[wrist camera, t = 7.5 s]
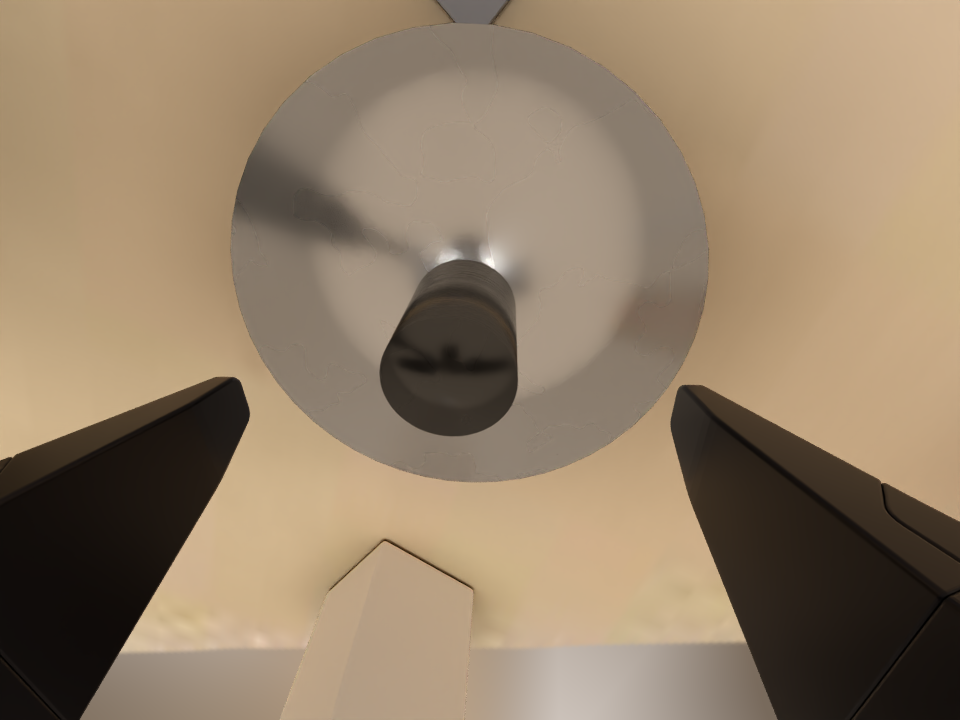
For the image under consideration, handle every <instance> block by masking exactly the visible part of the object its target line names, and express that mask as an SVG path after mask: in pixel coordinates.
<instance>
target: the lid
mask: <svg viewBox="0 0 960 720" xmlns="http://www.w3.org/2000/svg"><path fill="white" fill-rule="evenodd" d="M708 253H709V248H708V240H707V232H706V224H705V216H704V213H703V209H702V206H701V202H700V198H699V195H698V191H697V188H696V184H695V182H694V179H693V177H692V175H691V173H690V171H689V168H688V166H687V164H686V162H685V160H684V157H683V155H682V153H681V151H680V149H679V148H678V146H677V145H676V143H675V142H674V140H673V139H672V137H671V135H670V134H669V132H668V131H667V129H666V128H665V126H664V125H663V123H662V122H661V120H660V119H659V118H658V117H657V116H656V115H655V113H654V112H653V111H652V110H651V109H650V108H649V107H648V106H647V105H646V103H645V102H644V101H643V100H642V99H641V98H640V97H639V96H638V95H637V93H636V92H635V91H633V90H632V89H631V88H630V87H628V86H627V85H626V84H625V83H623V82H622V81H621V80H620V79H619V78H617V77H616V76H615V75H614V74H612V73H611V72H610V71H609V70H607V69H606V68H605V67H603V66H602V65H600V64H598V63H596V62H595V61H593V60H591V59H590V58H588V57H586V56H584V55H583V54H581V53H579V52H577V51H576V50H574V49H572V48H571V47H568V46H565V45H563V44H560V43H558V42H555V41H552V40H550V39H547V38H545V37H542V36H539V35H537V34H534V33H530V32H526V31H521V30H516V29H511V28H507V27H502V26H497V25H489V24H468V23H447V24H439V25H430V26H422V27H413V28H410V29H406V30H403V31H399V32H396V33H392V34H389V35H385V36H382V37H378V38H375V39H373V40H371V41H369V42H367V43H365V44H363V45H360V46H358V47H356V48H354V49H352V50H350V51H348V52H346V53H344V54H342V55H340V56H339V57H337V58H336V59H334V60H333V61H331V62H330V63H328V64H327V65H326V66H324V67H323V68H321V69H320V70H318V71H317V72H315V73H314V74H313V75H311V76H310V77H309V78H308V79H307V80H306V81H305V82H304V83H303V84H302V85H301V86H300V87H299V88H298V89H297V90H296V91H294V92H293V93H292V94H291V95H290V96H289V97H288V98H287V99H286V100H285V101H284V103H283V104H282V105H281V107H280V108H279V109H278V111H277V112H276V113H275V115H274V116H273V117H272V119H271V120H270V121H269V123H268V124H267V125H266V127H265V128H264V130H263V132H262V133H261V135H260V137H259V139H258V141H257V143H256V145H255V147H254V149H253V151H252V153H251V154H250V156H249V158H248V161H247V164H246V167H245V170H244V173H243V175H242V178H241V181H240V184H239V187H238V191H237V196H236V201H235V207H234V212H233V218H232V232H231V259H232V270H233V280H234V285H235V289H236V294H237V298H238V302H239V307H240V310H241V313H242V316H243V318H244V321H245V324H246V327H247V329H248V332H249V335H250V337H251V339H252V341H253V343H254V345H255V347H256V349H257V351H258V353H259V355H260V357H261V358H262V360H263V362H264V363H265V365H266V366H267V368H268V369H269V371H270V372H271V374H272V375H273V377H274V378H275V380H276V381H277V383H278V384H279V385H280V386H281V388H282V389H283V390H284V391H285V392H286V394H287V395H288V396H289V397H290V398H291V400H292V401H293V402H294V403H295V404H296V405H297V406H298V407H299V408H300V409H301V410H302V411H303V412H304V413H305V414H306V415H307V416H308V417H309V418H310V419H312V420H313V421H314V422H315V423H316V424H318V425H319V426H320V427H321V428H323V429H324V430H325V431H327V432H328V433H329V434H330V435H332V436H333V437H335V438H336V439H338V440H339V441H341V442H342V443H344V444H346V445H347V446H349V447H350V448H352V449H354V450H355V451H357V452H359V453H361V454H363V455H365V456H367V457H369V458H371V459H373V460H375V461H378V462H380V463H383V464H386V465H388V466H391V467H393V468H396V469H399V470H402V471H406V472H409V473H413V474H417V475H420V476H424V477H430V478H436V479H442V480H447V481H461V482H498V481H506V480H514V479H521V478H525V477H530V476H534V475H539V474H543V473H546V472H549V471H552V470H555V469H558V468H561V467H564V466H567V465H569V464H571V463H574V462H576V461H578V460H580V459H582V458H585V457H587V456H589V455H591V454H592V453H594V452H596V451H598V450H599V449H601V448H603V447H604V446H606V445H608V444H609V443H611V442H612V441H614V440H615V439H616V438H618V437H619V436H620V435H622V434H623V433H624V432H625V431H627V430H628V429H629V428H631V427H632V426H633V425H634V424H635V423H636V422H637V421H638V420H639V419H640V418H641V417H642V416H643V415H645V414H646V413H647V412H648V411H649V410H650V409H651V408H652V406H653V405H654V404H655V403H656V402H657V400H658V399H659V398H660V397H661V395H662V394H663V393H664V392H665V391H666V389H667V388H668V387H669V385H670V383H671V382H672V380H673V379H674V377H675V375H676V374H677V372H678V371H679V369H680V368H681V366H682V364H683V362H684V360H685V358H686V356H687V354H688V351H689V349H690V347H691V345H692V343H693V340H694V338H695V335H696V332H697V329H698V325H699V322H700V319H701V316H702V312H703V308H704V302H705V296H706V289H707V283H708Z"/></svg>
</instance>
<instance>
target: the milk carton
mask: <svg viewBox="0 0 960 720" xmlns="http://www.w3.org/2000/svg"><path fill="white" fill-rule="evenodd" d="M473 597H474V592H473V590H472V589H471V588H469V587H467V586H466V585H464V584H462V583H460V582H458V581H457V580H455V579H453V578H451V577H449V576H448V575H446V574H444V573H442V572H441V571H439V570H437V569H435V568H433V567H432V566H430V565H428V564H426V563H424V562H423V561H421V560H419V559H417V558H415V557H414V556H412V555H410V554H408V553H406V552H405V551H403V550H401V549H399V548H397V547H396V546H394V545H392V544H390V543H388V542H386V541H384V542H382V543H381V544H380V545H379V546H378V547H377V548H376V549H374V550H373V551H372V552H371V553H370V554H369V555H368V556H367V557H366V558H365V559H364V560H363V561H361V562H360V563H359V564H358V565H357V566H356V567H355V568H354V569H353V570H352V571H351V572H350V573H348V574H347V575H346V576H345V577H344V578H343V579H342V580H341V581H340V582H339V583H338V584H337V585H336V586H334V587H333V588H332V589H331V590H330V591H329V592H328V593H327V595H326V597H325V600H324V603H323V605H322V608H321V611H320V613H319V616H318V618H317V621H316V624H315V626H314V629H313V632H312V634H311V637H310V640H309V642H308V645H307V648H306V650H305V653H304V656H303V659H302V661H301V664H300V667H299V669H298V672H297V674H296V677H295V680H294V682H293V685H292V688H291V690H290V693H289V696H288V698H287V701H286V703H285V706H284V709H283V711H282V714H281V717H280V719H279V720H464V718H465V704H466V691H467V677H468V664H469V651H470V637H471V624H472V610H473Z"/></svg>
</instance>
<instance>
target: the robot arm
mask: <svg viewBox="0 0 960 720" xmlns="http://www.w3.org/2000/svg"><path fill="white" fill-rule="evenodd" d="M249 417H250V410H249V407H248V403H247V400H246V397H245V394H244V391H243V388H242V385H241V382H240V381H239V380H238V379H237V378H235V377H215V378H212V379H209V380H207V381H204V382H202V383H199V384H196V385H194V386H191V387H189V388H186V389H184V390H181V391H178V392H176V393H173V394H171V395H168V396H166V397H163V398H160V399H158V400H155V401H153V402H150V403H148V404H145V405H142V406H140V407H137V408H135V409H132V410H129V411H127V412H124V413H122V414H119V415H117V416H114V417H111V418H109V419H106V420H104V421H101V422H99V423H96V424H93V425H91V426H88V427H86V428H83V429H81V430H78V431H75V432H73V433H70V434H68V435H65V436H62V437H60V438H57V439H55V440H52V441H50V442H47V443H44V444H42V445H39V446H37V447H34V448H32V449H29V450H26V451H24V452H21V453H19V454H16V455H15V456H14V457H13V458H12V457H8V458H6V459H3V460H0V720H80V718H81V716H82V715H83V713H84V711H85V710H86V708H87V706H88V705H89V703H90V701H91V700H92V698H93V696H94V695H95V693H96V691H97V690H98V688H99V686H100V684H101V683H102V681H103V679H104V678H105V676H106V674H107V673H108V671H109V669H110V668H111V666H112V664H113V663H114V661H115V659H116V657H117V656H118V654H119V652H120V651H121V649H122V647H123V646H124V644H125V642H126V641H127V639H128V637H129V636H130V634H131V632H132V631H133V629H134V627H135V626H136V624H137V622H138V620H139V619H140V617H141V615H142V614H143V612H144V610H145V609H146V607H147V605H148V604H149V602H150V600H151V599H152V597H153V595H154V594H155V592H156V590H157V588H158V587H159V585H160V583H161V582H162V580H163V578H164V577H165V575H166V573H167V572H168V570H169V568H170V567H171V565H172V563H173V562H174V560H175V558H176V556H177V555H178V553H179V551H180V550H181V548H182V546H183V545H184V543H185V541H186V540H187V538H188V536H189V535H190V533H191V531H192V530H193V528H194V526H195V524H196V523H197V521H198V519H199V518H200V516H201V514H202V513H203V511H204V509H205V508H206V506H207V504H208V503H209V501H210V499H211V498H212V496H213V494H214V493H215V491H216V489H217V487H218V485H219V484H220V482H221V480H222V478H223V476H224V474H225V472H226V470H227V467H228V465H229V463H230V461H231V459H232V456H233V454H234V452H235V450H236V448H237V446H238V443H239V441H240V439H241V437H242V435H243V432H244V430H245V428H246V426H247V424H248V421H249ZM671 432H672V436H673V440H674V444H675V447H676V451H677V455H678V459H679V463H680V466H681V470H682V474H683V478H684V482H685V485H686V489H687V492H688V496H689V498H690V501H691V504H692V507H693V509H694V512H695V514H696V517H697V519H698V522H699V524H700V527H701V529H702V532H703V534H704V537H705V539H706V542H707V544H708V547H709V549H710V552H711V554H712V557H713V559H714V562H715V564H716V567H717V569H718V572H719V574H720V577H721V579H722V582H723V584H724V587H725V589H726V592H727V594H728V597H729V599H730V602H731V604H732V607H733V609H734V612H735V614H736V617H737V619H738V622H739V624H740V627H741V629H742V632H743V634H744V637H745V639H746V642H747V644H748V647H749V649H750V652H751V654H752V656H753V659H754V662H755V664H756V667H757V669H758V672H759V674H760V677H761V679H762V682H763V684H764V687H765V689H766V692H767V694H768V697H769V699H770V702H771V704H772V707H773V709H774V712H775V714H776V717H777V719H778V720H960V522H959V521H957V520H955V519H953V518H951V517H949V516H947V515H945V514H944V513H942V512H940V511H938V510H936V509H934V508H932V507H930V506H928V505H926V504H924V503H922V502H920V501H918V500H916V499H915V498H913V497H911V496H909V495H907V494H905V493H903V492H901V491H899V490H898V489H896V488H894V487H892V486H890V485H888V484H886V483H882V484H881V481H880V480H879V479H877V478H875V477H873V476H871V475H869V474H867V473H866V472H864V471H862V470H860V469H858V468H856V467H854V466H852V465H851V464H849V463H847V462H845V461H843V460H841V459H839V458H837V457H836V456H834V455H832V454H830V453H828V452H826V451H824V450H823V449H821V448H819V447H817V446H815V445H813V444H811V443H809V442H808V441H806V440H804V439H802V438H800V437H798V436H796V435H794V434H793V433H791V432H789V431H787V430H785V429H783V428H781V427H779V426H778V425H776V424H774V423H772V422H770V421H768V420H766V419H764V418H763V417H761V416H759V415H757V414H755V413H753V412H751V411H750V410H748V409H746V408H744V407H742V406H740V405H738V404H736V403H735V402H733V401H731V400H729V399H727V398H725V397H723V396H721V395H720V394H718V393H716V392H714V391H712V390H710V389H708V388H706V387H705V386H702V385H682V386H681V387H679V389H678V391H677V395H676V399H675V403H674V408H673V412H672V416H671Z"/></svg>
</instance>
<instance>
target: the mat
mask: <svg viewBox="0 0 960 720" xmlns="http://www.w3.org/2000/svg"><path fill="white" fill-rule="evenodd" d="M508 1H509V0H437V2H438V3H439V4H440V5H441V6H442V7H443V9H444V10H445V11H446V12H447V13H448V14H449V16H450V17H451V18H452V19H453V20H454V21H455V22H456V23H468V24H489V25H490V24H491V23H492V22H493V20H494V19H495V18H496V17H497V15H498V14H499V13H500V12H501V10H502V9H503V8H504V6H505V5H506V4H507V3H508Z"/></svg>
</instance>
